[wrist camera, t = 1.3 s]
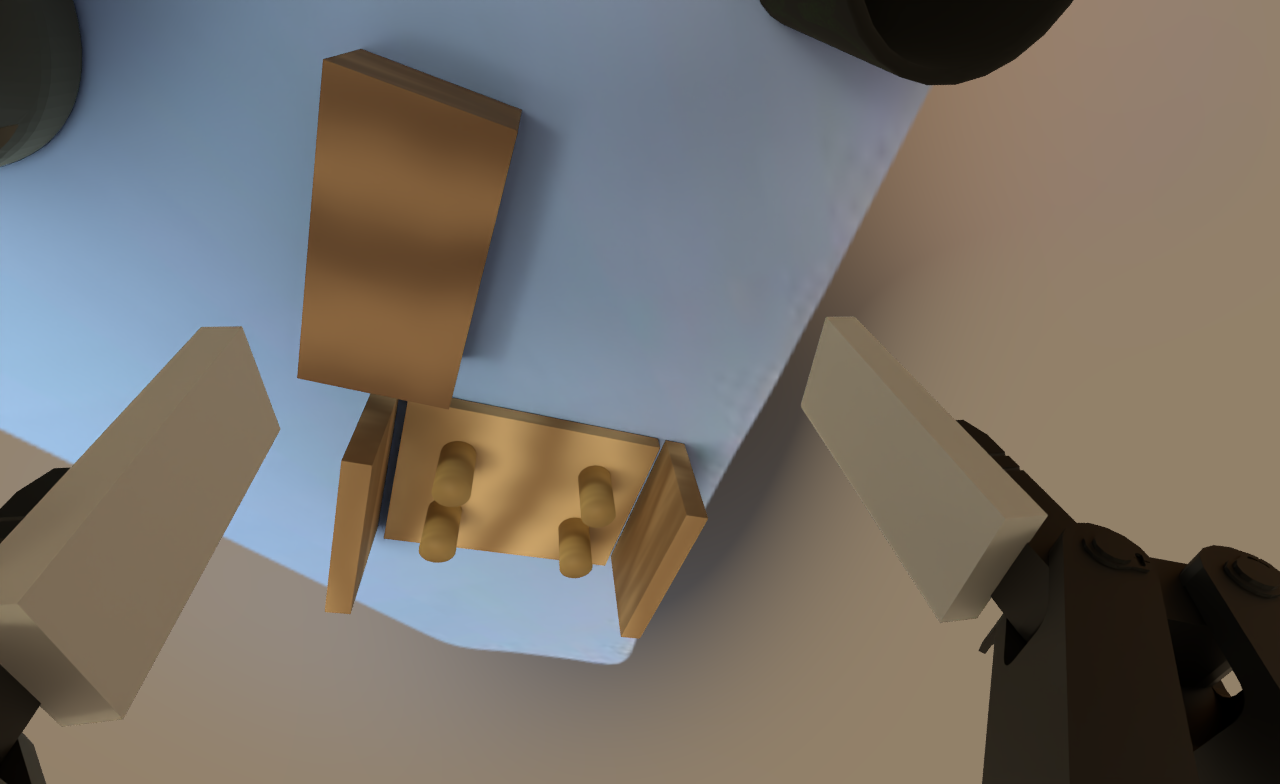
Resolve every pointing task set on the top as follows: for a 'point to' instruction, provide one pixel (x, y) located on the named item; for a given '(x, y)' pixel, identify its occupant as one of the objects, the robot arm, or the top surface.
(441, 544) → the stand
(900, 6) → the cup
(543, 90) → the top surface
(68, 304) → the top surface
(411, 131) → the brown wooden block
